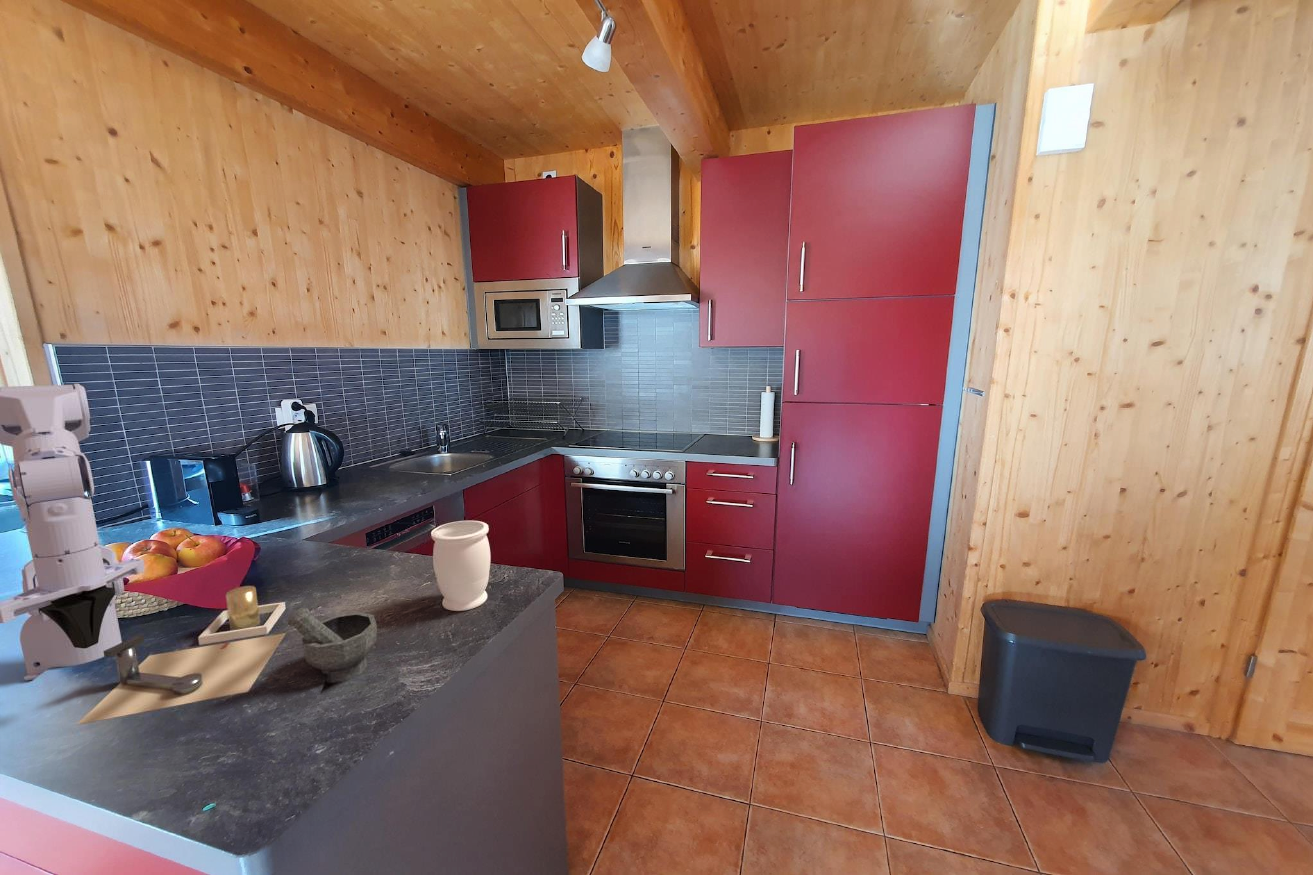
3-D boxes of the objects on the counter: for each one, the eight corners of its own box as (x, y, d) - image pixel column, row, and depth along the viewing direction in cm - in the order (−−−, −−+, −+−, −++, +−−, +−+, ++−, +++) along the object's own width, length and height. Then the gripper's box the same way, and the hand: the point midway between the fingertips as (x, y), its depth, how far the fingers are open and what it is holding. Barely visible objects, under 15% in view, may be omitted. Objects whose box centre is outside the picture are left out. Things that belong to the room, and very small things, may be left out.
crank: (212, 679, 72) (206, 642, 71) (181, 698, 68) (175, 659, 67) (141, 671, 74) (134, 635, 73) (107, 688, 70) (100, 650, 69)
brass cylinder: (227, 636, 85) (221, 598, 83) (236, 625, 88) (230, 588, 87) (256, 631, 86) (251, 594, 85) (263, 620, 90) (258, 584, 89)
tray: (200, 651, 81) (198, 637, 81) (225, 623, 90) (223, 610, 89) (268, 640, 85) (266, 626, 84) (286, 614, 93) (284, 601, 93)
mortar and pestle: (363, 644, 83) (356, 577, 81) (392, 664, 78) (385, 592, 76) (284, 680, 74) (274, 605, 72) (310, 705, 69) (300, 624, 67)
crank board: (77, 733, 64) (75, 724, 63) (150, 662, 78) (149, 654, 78) (248, 699, 70) (247, 690, 70) (286, 639, 85) (285, 632, 85)
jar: (494, 608, 95) (490, 533, 93) (435, 619, 91) (429, 541, 89) (491, 585, 105) (487, 517, 102) (437, 594, 101) (432, 523, 99)
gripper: (11, 574, 57) (35, 682, 59) (155, 531, 71) (171, 619, 73) (-36, 570, 58) (-11, 676, 60) (115, 528, 72) (131, 615, 74)
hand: (86, 645), depth 67 cm, fingers closed
